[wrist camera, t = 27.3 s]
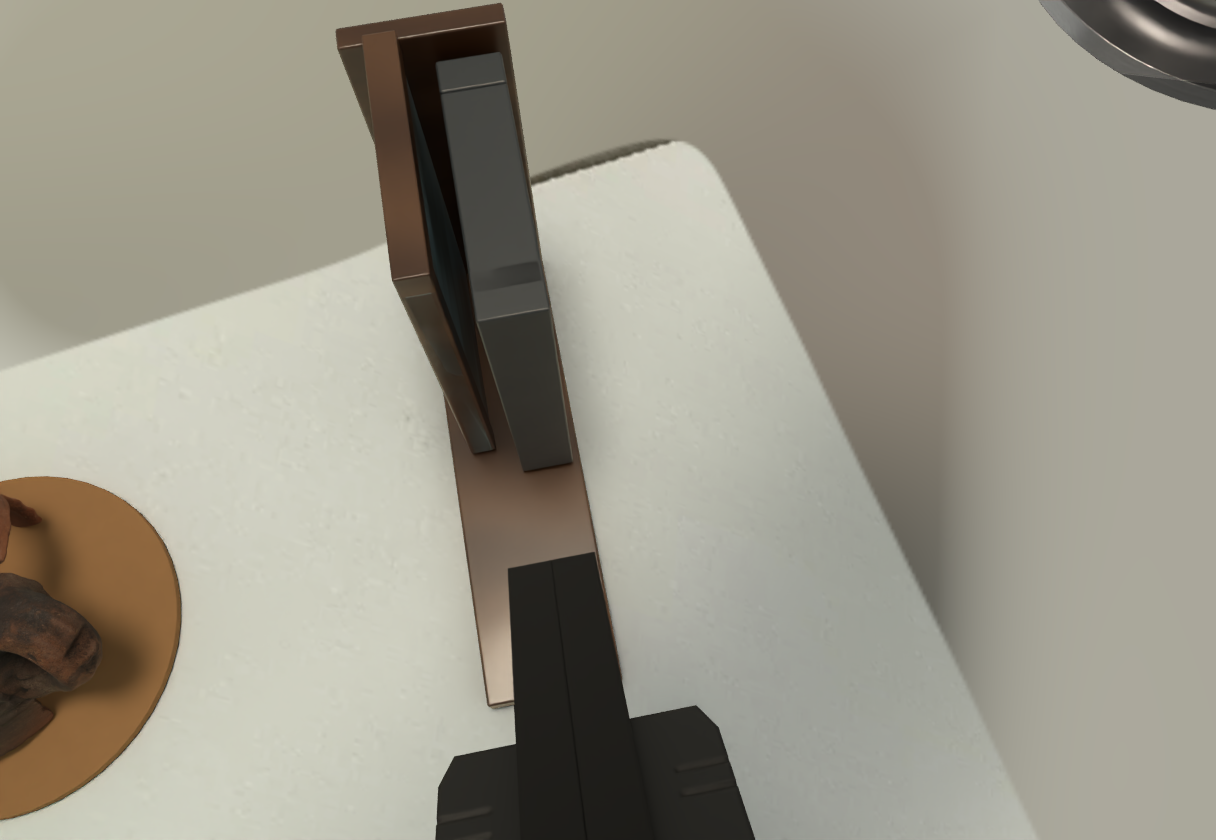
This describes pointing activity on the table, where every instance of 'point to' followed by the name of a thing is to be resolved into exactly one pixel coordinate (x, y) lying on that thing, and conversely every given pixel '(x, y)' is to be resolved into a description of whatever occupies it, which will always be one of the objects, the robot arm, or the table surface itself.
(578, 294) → the table surface
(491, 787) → the robot arm
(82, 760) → the coaster
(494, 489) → the brown piece
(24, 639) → the pottery mug
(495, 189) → the window sash
